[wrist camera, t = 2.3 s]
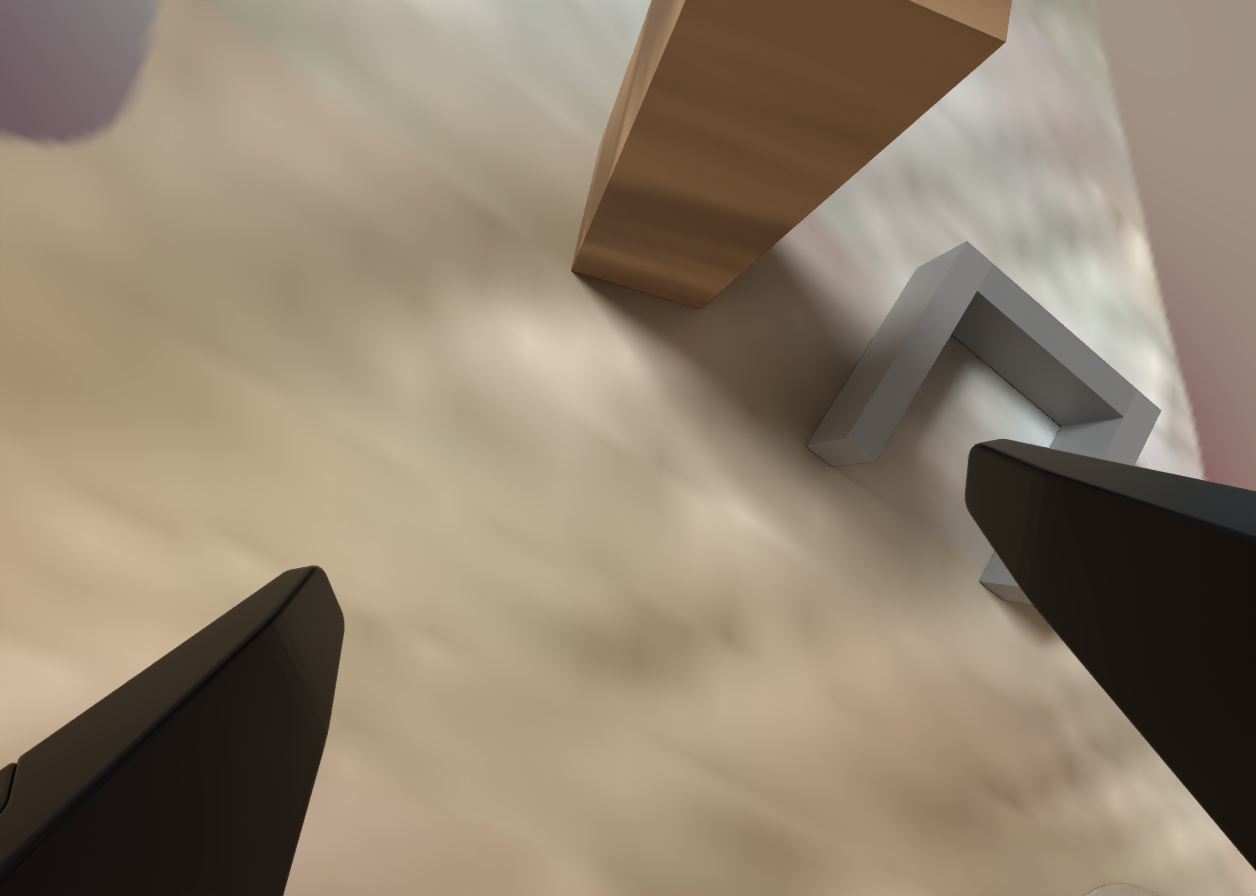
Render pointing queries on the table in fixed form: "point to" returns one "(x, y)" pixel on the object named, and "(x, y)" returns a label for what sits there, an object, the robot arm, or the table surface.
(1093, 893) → the coffee cup
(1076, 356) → the u-shaped bracket
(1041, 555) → the robot arm
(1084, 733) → the table surface
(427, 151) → the table surface
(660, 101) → the wooden block
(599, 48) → the table surface
